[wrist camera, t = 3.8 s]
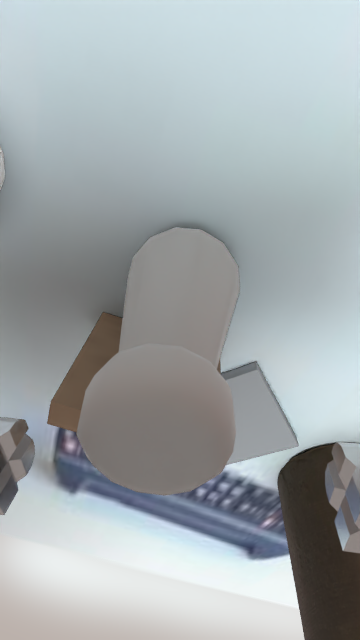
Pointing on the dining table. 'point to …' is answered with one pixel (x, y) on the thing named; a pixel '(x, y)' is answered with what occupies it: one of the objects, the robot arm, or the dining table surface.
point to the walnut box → (86, 372)
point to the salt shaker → (167, 370)
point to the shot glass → (2, 168)
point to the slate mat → (256, 416)
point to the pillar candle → (319, 551)
